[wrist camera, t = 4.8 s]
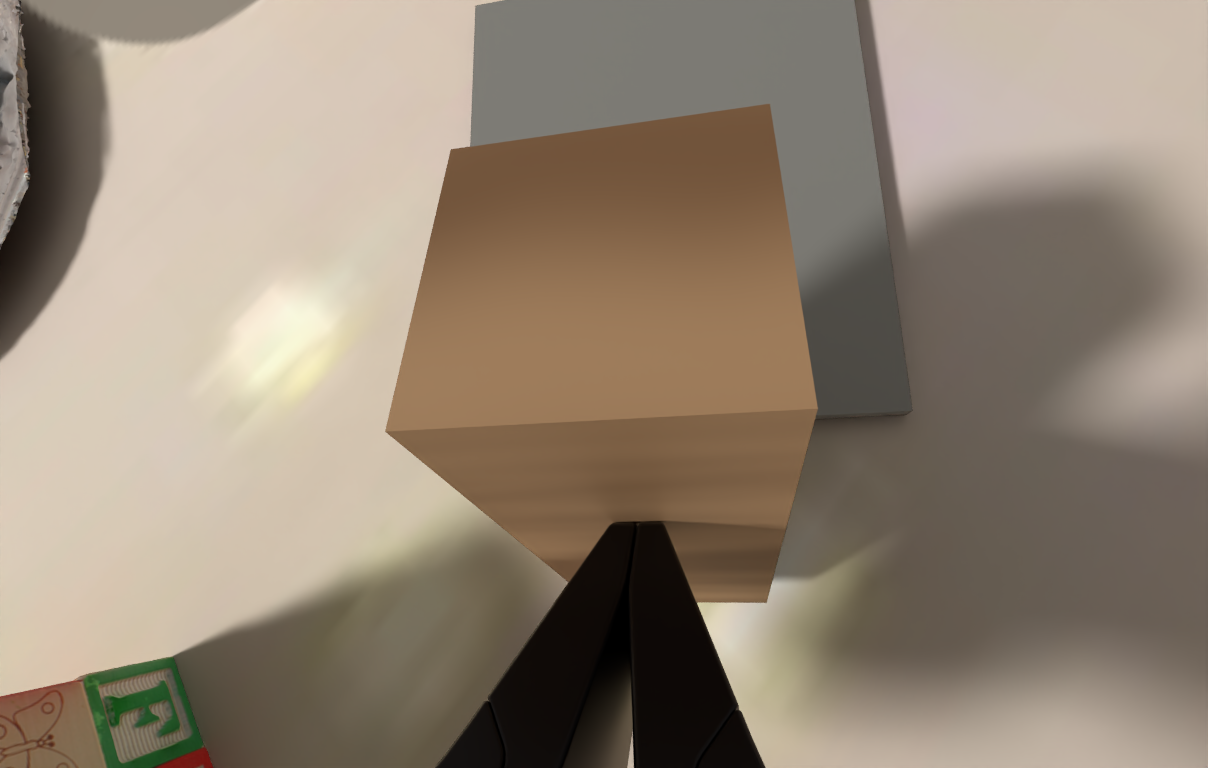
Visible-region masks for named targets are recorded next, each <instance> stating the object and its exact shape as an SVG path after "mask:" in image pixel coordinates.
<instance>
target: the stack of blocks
mask: <svg viewBox="0 0 1208 768" xmlns="http://www.w3.org/2000/svg"><path fill="white" fill-rule="evenodd" d="M0 768H213V766H212V763H211V761H210V757H209V754H208V751H207V750H206V748H205V747H204V745H203V742H202V739H201V736H200V733H199V731H198V728H197V725H196V722H195V719H194V716H193V713H192V710H191V707H190V704H189V701H188V699H187V696H186V693H185V690H184V687H183V684H182V681H181V678H180V676H179V673H178V670H177V666H176V663H175V660H174V658H173V657H166V658H162V659H157V660H153V661H148V662H143V663H138V664H132V665H128V666H123V667H119V668H114V669H109V670H105V671H100V672H94V673H89V674H86V675H83V676H80V677H78V678H77V679H75V680H74V681H70V682H66V683H61V684H56V685H52V686H47V687H43V688H38V689H34V690H29V691H24V692H20V693H15V694H10V695H5V696H1V697H0Z"/></svg>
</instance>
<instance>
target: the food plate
mask: <svg viewBox="0 0 1208 768" xmlns="http://www.w3.org/2000/svg"><path fill="white" fill-rule="evenodd" d="M18 8H20V10H17V9H18ZM21 8H22V6H21V1H19V0H0V247H2V243H3V242H4V241H5V238H6V236H7V234H8V232H9V231H10V228H11V225H12V224H13V222H14V220H15V219H16V216H17V212H18V207H19V206H20V202H21V201H22V198H23V196H24V194H25V192H26V190H27V189H28V186H29V184H30V182H29V181H27V180H28V179H31V178H29V177H30V173H29V169H28V168H29V167H28V166H29V165H30V164H28V161H27V159H28V158H29V156H28V153H29V151H28V150H30V148H29V147H28V145H27V144H28V142H29V140H28V137H27V131H28V129H27V126H26V124H27V119H30V118H28V117H27V114H26V112H27V111H28V108H30V107H31V106H30V104H29V102H28V101H27V98H28V96H29V93H28V92H27V90H28V86H27V84H28V82H27V70H26V69H25V66H24V65H25V64H24V62H25V61H24V60H23V59H26V57H25V56H24V54H25V53H24V50H26V49H25V47H24V43H23V40H24V39H23V37H22V34H21V32H22V26H23V25H24V24H21V20H20V15H21V14H23V13H24V12H22V11H21ZM6 233H7V234H6ZM0 249H1V248H0Z"/></svg>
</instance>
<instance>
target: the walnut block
mask: <svg viewBox="0 0 1208 768" xmlns="http://www.w3.org/2000/svg"><path fill="white" fill-rule="evenodd" d="M817 410H818V407H817V400H816V394H815V388H814V381H813V375H812V368H811V362H810V356H809V349H808V343H807V337H806V330H805V324H804V317H803V311H802V305H801V298H800V292H799V286H798V279H797V273H796V267H795V260H794V254H793V247H792V241H791V235H790V228H789V222H788V216H787V209H786V203H785V196H784V190H783V184H782V177H781V171H780V165H779V158H778V152H777V146H776V139H775V133H774V126H773V120H772V114H771V107H770V104H764V105H757V106H750V107H743V108H736V109H729V110H722V111H715V112H708V113H701V114H694V115H687V116H680V117H673V118H666V119H659V120H652V121H646V122H639V123H632V124H625V125H618V126H611V127H604V128H597V129H590V130H583V131H576V132H569V133H562V134H555V135H548V136H541V137H534V138H527V139H520V140H514V141H507V142H500V143H493V144H486V145H479V146H472V147H465V148H458V149H451V151H450V156H449V160H448V164H447V169H446V173H445V177H444V182H443V186H442V190H441V194H440V199H439V203H438V207H437V212H436V216H435V220H434V224H433V229H432V233H431V237H430V242H429V246H428V250H427V255H426V259H425V263H424V267H423V272H422V276H421V280H420V285H419V289H418V293H417V298H416V302H415V306H414V310H413V315H412V319H411V323H410V328H409V332H408V336H407V341H406V345H405V349H404V353H403V358H402V362H401V366H400V371H399V375H398V379H397V383H396V388H395V392H394V396H393V401H392V405H391V409H390V414H389V418H388V422H387V426H386V431H385V432H386V433H388V434H389V435H390V436H391V437H393V438H394V439H395V440H396V441H397V442H399V443H400V444H401V445H402V446H404V447H405V448H406V449H407V450H408V451H410V452H411V453H412V454H413V455H414V456H416V457H417V458H418V459H419V460H421V461H422V462H423V463H424V464H425V465H427V466H428V467H429V468H430V469H432V470H433V471H434V472H435V473H436V474H438V475H439V476H440V477H441V478H442V479H444V480H445V481H446V482H447V483H449V484H450V485H451V486H452V487H453V488H455V489H456V490H457V491H458V492H460V493H461V494H462V495H463V496H464V497H466V498H467V499H468V500H469V501H471V502H472V503H473V504H474V505H475V506H477V507H478V508H479V509H480V510H481V511H483V512H484V513H485V514H486V515H488V516H489V517H490V518H491V519H492V520H494V521H495V522H496V523H497V524H499V525H500V526H501V527H502V528H503V529H505V530H506V531H507V532H508V533H510V534H511V535H512V536H513V537H514V538H516V539H517V540H518V541H519V542H520V543H522V544H523V545H524V546H525V547H527V548H528V549H529V550H530V551H531V552H533V553H534V554H535V555H536V556H538V557H539V558H540V559H541V560H542V561H544V562H545V563H546V564H547V565H549V566H550V567H551V568H552V569H553V570H555V571H556V572H557V573H558V574H559V575H561V576H562V577H563V578H564V579H566V580H567V581H568V582H569V581H570V580H571V578H572V577H573V576H574V574H575V573H576V571H577V570H578V569H579V567H580V566H581V564H582V563H583V562H584V560H585V559H586V557H587V556H588V554H589V553H590V552H591V550H592V549H593V547H594V546H595V545H596V543H597V542H598V540H599V539H600V537H601V536H602V535H603V533H604V532H605V530H606V529H607V528H608V526H609V525H610V524H612V523H623V522H633V523H635V524H636V525H637V526H638V524H639V523H641V522H662V523H664V525H665V527H666V529H667V531H668V534H669V536H670V539H671V541H672V544H673V546H674V549H675V551H676V553H677V556H678V558H679V561H680V563H681V566H682V568H683V571H684V573H685V576H686V578H687V580H688V583H689V585H690V588H691V590H692V593H693V595H694V598H695V600H696V602H744V603H767V599H768V595H769V591H770V588H771V584H772V580H773V576H774V572H775V569H776V565H777V561H778V557H779V554H780V550H781V546H782V542H783V538H784V535H785V531H786V527H787V523H788V520H789V516H790V512H791V508H792V504H793V501H794V497H795V493H796V489H797V486H798V482H799V478H800V474H801V470H802V467H803V463H804V459H805V455H806V452H807V448H808V444H809V440H810V436H811V433H812V429H813V425H814V421H815V418H816V414H817Z"/></svg>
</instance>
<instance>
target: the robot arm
mask: <svg viewBox="0 0 1208 768" xmlns="http://www.w3.org/2000/svg"><path fill="white" fill-rule="evenodd" d="M488 700H489V701H484V702H483V704H482V705H481V706H480V708H479V709H478V711H477V712H476V714H475V715H474V716H473V718H472V719H471V721H470V722H469V724H468V725H467V726H466V728H465V729H464V730H463V732H462V733H461V734H460V736H459V737H458V738H457V740H456V741H455V742H454V744H453V745H452V746H451V748H450V749H449V750H448V752H447V753H446V754H445V756H444V757H443V758H442V759H441V761H440V762H439V763H438V764H437V766H436V767H435V768H627V765H628V758H629V751H630V744H631V737H632V729H633V752H634V768H765V766H764V763H763V761H762V759H761V757H760V754H759V752H758V750H757V748H756V745H755V743H754V741H753V739H752V736H751V734H750V732H749V729H748V727H747V724H746V722H745V719H744V717H743V714H742V712H741V711H740V710H739V705H738V703H737V700H736V698H735V695H734V693H733V691H732V688H731V686H730V683H729V681H728V678H727V676H726V673H725V671H724V669H723V666H722V664H721V661H720V659H719V656H718V654H717V651H716V649H715V647H714V644H713V642H712V639H711V637H710V634H709V632H708V629H707V627H706V624H705V622H704V620H703V617H702V615H701V612H700V610H699V607H698V605H697V602H696V600H695V598H694V595H693V593H692V590H691V588H690V585H689V583H688V580H687V578H686V576H685V573H684V571H683V568H682V566H681V563H680V561H679V558H678V556H677V553H676V551H675V549H674V546H673V544H672V541H671V539H670V536H669V534H668V531H667V529H666V527H665V525H664V523H662V522H641V523H639V524H638V526H637V525H636V524H635V523H633V522H623V523H612V524H610V525H609V526H608V528H607V529H606V530H605V532H604V533H603V535H602V536H601V537H600V539H599V540H598V542H597V543H596V545H595V546H594V547H593V549H592V550H591V552H590V553H589V554H588V556H587V557H586V559H585V560H584V562H583V563H582V564H581V566H580V567H579V569H578V570H577V571H576V573H575V574H574V576H573V577H572V578H571V580H570V581H569V583H568V584H567V586H566V587H565V588H564V590H563V591H562V593H561V594H560V595H559V597H558V598H557V600H556V601H555V602H554V604H553V605H552V607H551V608H550V610H549V611H548V612H547V614H546V615H545V617H544V618H543V619H542V621H541V622H540V624H539V625H538V626H537V628H536V629H535V631H534V632H533V634H532V635H531V636H530V638H529V639H528V641H527V642H526V643H525V645H524V646H523V648H522V649H521V650H520V652H519V653H518V655H517V656H516V658H515V659H514V660H513V662H512V663H511V665H510V666H509V667H508V669H507V670H506V672H505V673H504V674H503V676H502V677H501V679H500V680H499V682H498V683H497V684H496V686H495V687H494V689H493V690H492V691H491V693H490V694H489V696H488Z"/></svg>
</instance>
